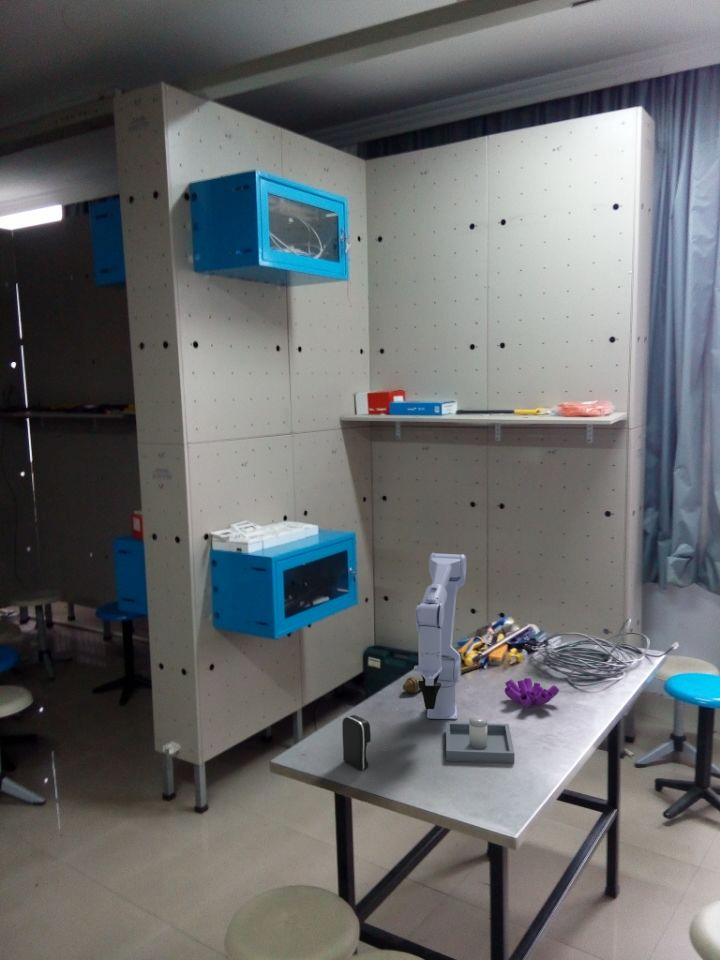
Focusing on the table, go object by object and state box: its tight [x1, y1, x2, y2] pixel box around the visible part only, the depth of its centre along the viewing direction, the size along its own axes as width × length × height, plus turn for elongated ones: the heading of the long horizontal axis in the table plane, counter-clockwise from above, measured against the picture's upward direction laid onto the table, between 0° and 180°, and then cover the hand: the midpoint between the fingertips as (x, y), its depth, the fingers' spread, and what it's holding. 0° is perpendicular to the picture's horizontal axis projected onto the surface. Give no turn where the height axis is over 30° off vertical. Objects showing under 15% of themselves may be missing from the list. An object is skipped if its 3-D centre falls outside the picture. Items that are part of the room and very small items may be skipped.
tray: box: [445, 721, 515, 764], centre depth 188 cm, size 16×16×2 cm
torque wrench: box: [402, 663, 479, 695], centre depth 232 cm, size 5×35×5 cm
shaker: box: [468, 715, 488, 749], centre depth 188 cm, size 4×4×6 cm
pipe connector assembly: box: [503, 677, 560, 708], centre depth 213 cm, size 11×15×10 cm
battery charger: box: [341, 714, 372, 771], centre depth 180 cm, size 7×4×11 cm, turn 41°
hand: (430, 702), depth 192 cm, fingers open, 7 cm apart
